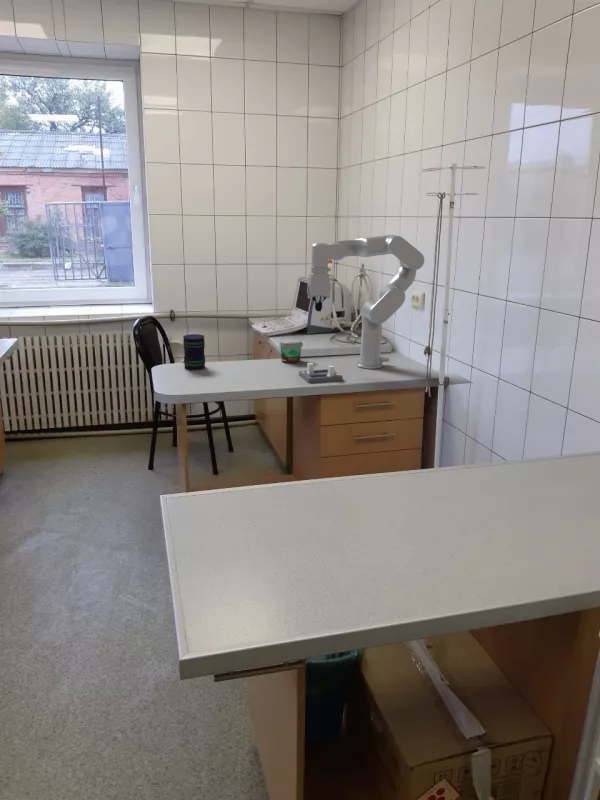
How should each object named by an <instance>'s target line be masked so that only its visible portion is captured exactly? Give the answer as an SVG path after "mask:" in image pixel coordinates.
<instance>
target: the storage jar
mask: <svg viewBox="0 0 600 800" xmlns="http://www.w3.org/2000/svg"><path fill="white" fill-rule="evenodd" d="M182 341H183V343H182V345H183V352H184V356H183V364H184V369H185V370H187V371H202V370H204V369H205V368H206V356H205V347H206V346H205V335H202V334H198V333H197V334H185V335H183V339H182Z"/></svg>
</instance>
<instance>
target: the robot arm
mask: <svg viewBox="0 0 600 800" xmlns="http://www.w3.org/2000/svg"><path fill="white" fill-rule="evenodd" d="M387 255H393V256H394V257H395V258H396V259H398V260H399V269H398V272H397V273H396V274H395V275H394V276H393V278H391V280H389V281H388V283H386V284H385V285H384V286H383V287H382V288H381V289H380V291H379V295H378V296H379V300H378V301H377V300H374V299H373V300H372V299H370V300H367V301H366V302H364V303H363V305H362V307H361V314H360V315H361V338H360V355H359V356H360V358H359V361H357V362H356V366H357V367H359V368H361V369H369V370H371V369H373V370H375V369H381V368H383V367H384V363H385V362H390V358H389V357H384V356H381V352H382V351H381V348H382V335H383V334H382V332H383V326H382V324H384V323H385V322H387V321H388V320H389V319H390V318H391V317H392V316H393V315H394V314H395V313H396V312H397V311H398V310H399V309H400V308H401V307H402V306H403V305H404V303H405V300H406V291H407V290H408V289H409V288H410V287H411V286H412V285H413V283H414V281H415V279H416V275H417V271H418V270H420V269H422V267H423V266H424V264H425V256H424V255H423V253H422V252H421V251H420V250H418V248H416V247H415V246H413V245H412V244H411V243H410V242H408V241H407V239H405V238H404V237H402V236H400V235H395V234H386V235H379V236H371V237H369V236H368V237H363V238H355V239H354V238H353V239H346V240H339V241H338V240H337V241H331V242H330V243H325V242H315V243H313V244H312V245H311V267H310V268H311V272H310V273H309V274H308V280H307V286H306V287H307V289H306V293H307V299H310V300H312V301H313V302H314V310H315V311H316V312H322V310H323V303H324V301H325V300H327V299H330V298H331V278H330V274H329V272H331V270H332V269H331V267H330V268H329V260H331V261H332V260H334V261H341V260H344V259H345V258H346V257H360V258H362V257H363V258H370V257H376V256H387Z"/></svg>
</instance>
